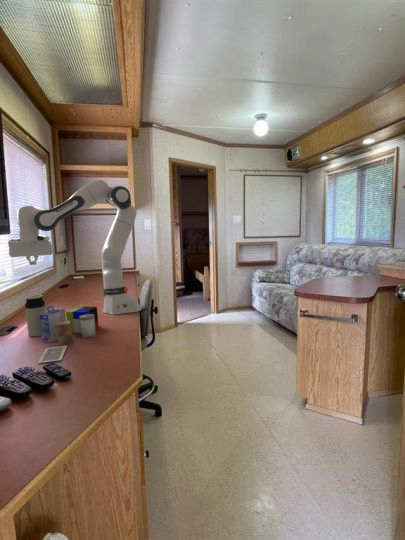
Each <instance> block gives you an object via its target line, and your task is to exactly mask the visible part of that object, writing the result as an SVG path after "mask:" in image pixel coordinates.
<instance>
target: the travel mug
mask: <svg viewBox="0 0 405 540" xmlns="http://www.w3.org/2000/svg"><path fill="white" fill-rule="evenodd" d="M43 297H44V295H43V294H33V295H28V296H25V297H24V299H25V300H26V302H25V304H24V307H25V316H26V325H27V335H28V336H30V337H40V336H42V330H41V323H40V316H39V315H41V314H44V313H46V305H45V301H44V299H43Z"/></svg>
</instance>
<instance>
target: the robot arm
mask: <svg viewBox="0 0 405 540" xmlns="http://www.w3.org/2000/svg"><path fill="white" fill-rule="evenodd" d="M131 197H132V196H131V192H130V191H129V189H128V188H127V187H125V186H122V185H117V186H113V187H110V186H109V184H108V183H107V182H106V181H104V180H103V179H96V180H94V181H91V182H89V183H87V184H86V185H84V186H82V187H80V188H79V189H78V190H77V191H75V192H74V193H73V194H72V195H71V196H70V197H69V198H68V199H67V200H65V201H64V202H62V203H61V204H59V205H57V206H55V207H53V208H51V209H44V210H43V209H40V208H39V207H36V206H34V205H32V204H31V205H24V206H20V207H19V208H18V209H17V214H16V215H17V225H18V228H19V229H18V230H19V232H18V233H19V238H11V239H9V240H8V243H7V244H8V254H9V256H10V258H20V257H21V258H22V257H25V258H26V261H28V262H29V263H28V264H29V266H35V265H37V264H38V263H37V261H38V260H39V256H51V255H53V254H54V248H53V244H52V242H51V241H50V239H51V237H50V236H48V235H44V234H40V231H43V232H50V231H52V230H54V229H55V228H56V227H57V225H58V223H59V222H60V221H62V220H63V219H64V218H66V217H67V216H69V215H71V214H73V213H74V212H77V211H83V210H87V209H90V208H92V207H95V206H96V205H97V204H99V203H101V202H103V201H106V202H107V203H108V204H109V206H112V207H115V208H116V213H115V214H116V215H115V217H114V219H113V221H112V224H111V226H110V230H109V232H108V234H107V237H106V239H105V242H104V245H103V247H102V249H101V251H100V257H101V258H100V259H101V269H102V280H103V281H102V282H103V289H102V293H103V301H104V302H103V309H102V312H103V313H104V314H108V315H115V316H116V315H121V314H127V313H129V314H130V313H136V312H140V311H142V310H143V305H141V304H139V302H138V299H137V298H136V296H134V295H132V294H131V293H130V292H128V286H125V285H124V275H123V267H122V266H123V265H122V257H123V255H124V251H125V249H126V246H127V243H128V240H129V237H130V235H131V232H132V229H133V227H134V225H135V222H136V217H137V209H136V207H135V206H133V205H132V199H131ZM31 257H33V258H34V260H31Z"/></svg>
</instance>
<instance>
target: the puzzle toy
mask: <svg viewBox="0 0 405 540" xmlns="http://www.w3.org/2000/svg"><path fill="white" fill-rule="evenodd" d="M85 314H94V315H95V318H94V321H95V329H97V328H98V327H99V317H98V316H99V315H98V306H77V307H75V308H72V309H70V310H67V311H65V315H66V321H69V320H70V323H71V333H72V334H75V333H76V334H81V324H80V319H79V317H80V316H81V315H85Z"/></svg>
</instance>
